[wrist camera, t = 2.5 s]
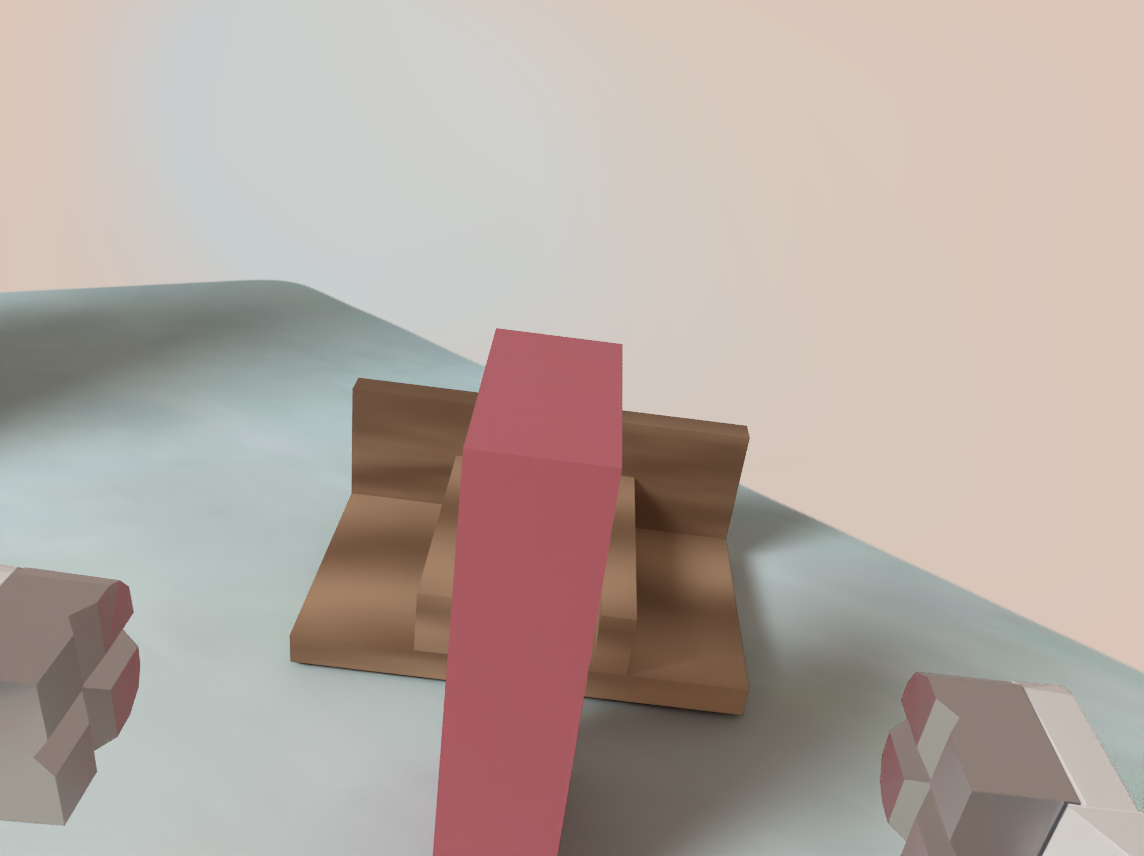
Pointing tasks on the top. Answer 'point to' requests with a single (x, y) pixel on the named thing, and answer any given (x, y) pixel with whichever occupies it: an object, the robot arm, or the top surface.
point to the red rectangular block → (526, 589)
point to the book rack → (632, 575)
